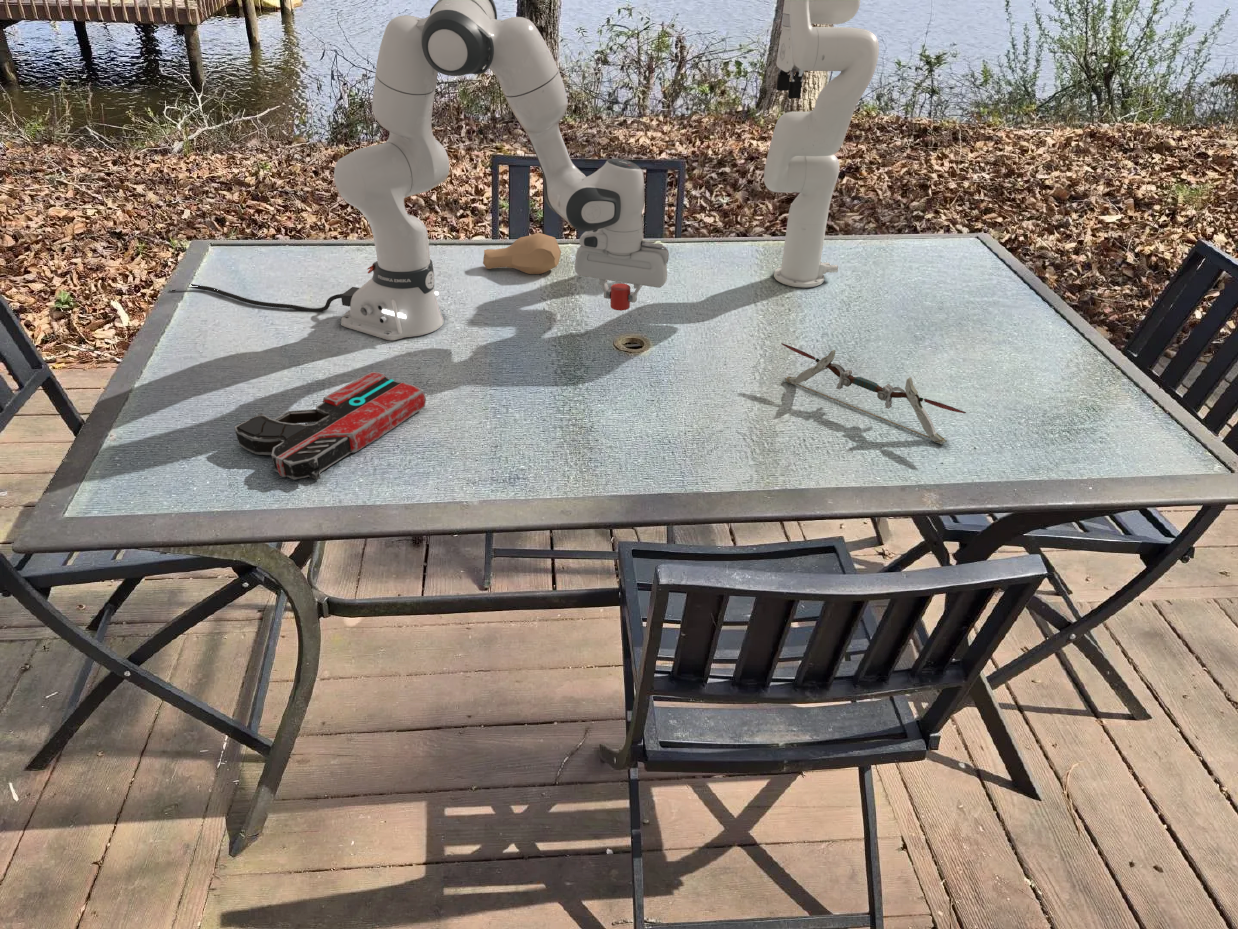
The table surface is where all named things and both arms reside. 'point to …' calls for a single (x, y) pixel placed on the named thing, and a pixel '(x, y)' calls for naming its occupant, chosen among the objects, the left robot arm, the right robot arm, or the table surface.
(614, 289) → the canister
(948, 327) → the table surface
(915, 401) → the bow
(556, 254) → the squash
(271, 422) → the gun
